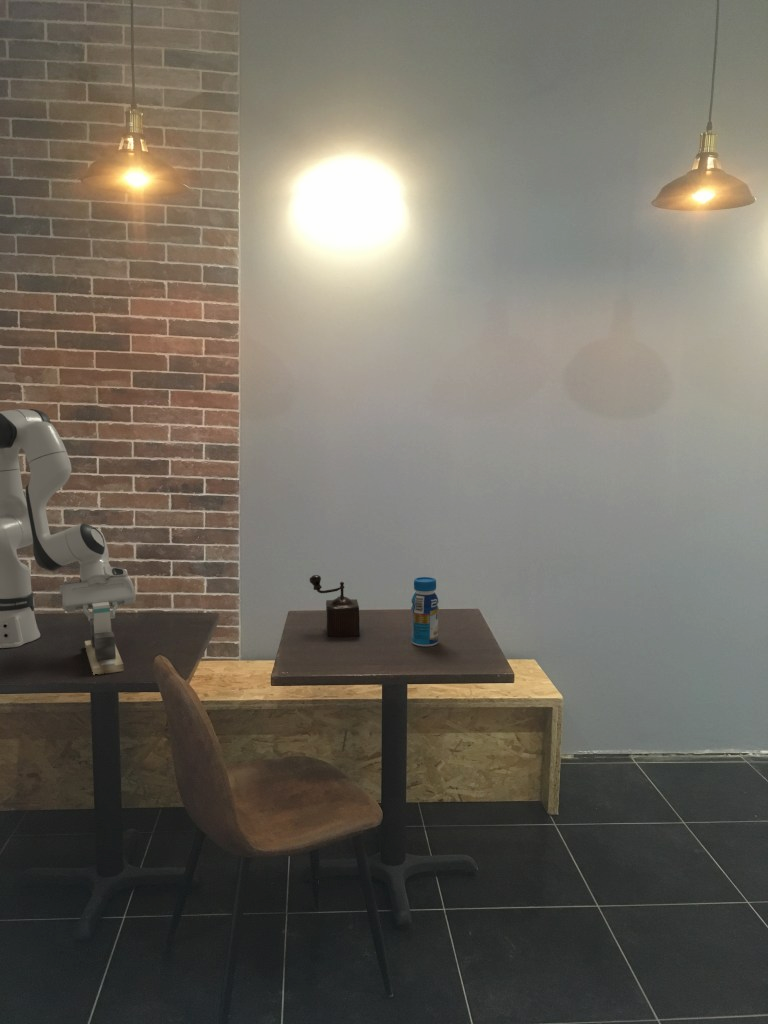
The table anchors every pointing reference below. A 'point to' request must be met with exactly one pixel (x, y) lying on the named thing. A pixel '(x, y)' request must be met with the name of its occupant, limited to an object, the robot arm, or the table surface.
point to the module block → (101, 617)
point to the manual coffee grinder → (339, 612)
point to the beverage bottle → (424, 612)
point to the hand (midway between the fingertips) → (102, 618)
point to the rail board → (96, 663)
